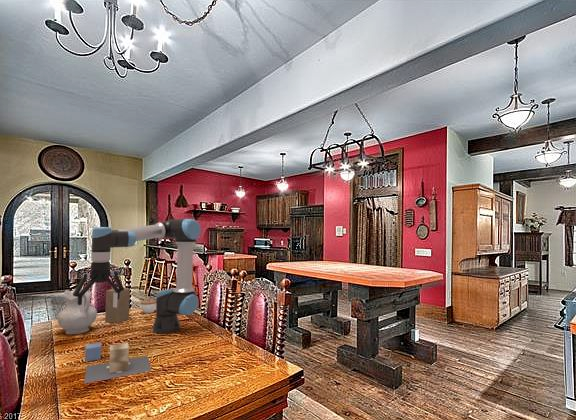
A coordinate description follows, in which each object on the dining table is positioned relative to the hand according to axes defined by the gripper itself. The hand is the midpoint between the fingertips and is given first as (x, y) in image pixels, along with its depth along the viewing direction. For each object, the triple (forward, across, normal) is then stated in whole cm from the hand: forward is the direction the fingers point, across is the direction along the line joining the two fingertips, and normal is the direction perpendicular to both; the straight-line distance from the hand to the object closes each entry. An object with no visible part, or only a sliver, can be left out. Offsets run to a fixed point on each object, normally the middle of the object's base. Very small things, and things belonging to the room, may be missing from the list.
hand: (98, 309), depth 147 cm
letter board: (+23, -4, +14) cm, 27 cm away
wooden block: (+23, -33, -64) cm, 76 cm away
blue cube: (+23, -1, -7) cm, 24 cm away
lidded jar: (+23, -57, -69) cm, 92 cm away
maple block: (+23, -4, +14) cm, 27 cm away
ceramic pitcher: (+23, -9, -57) cm, 62 cm away
